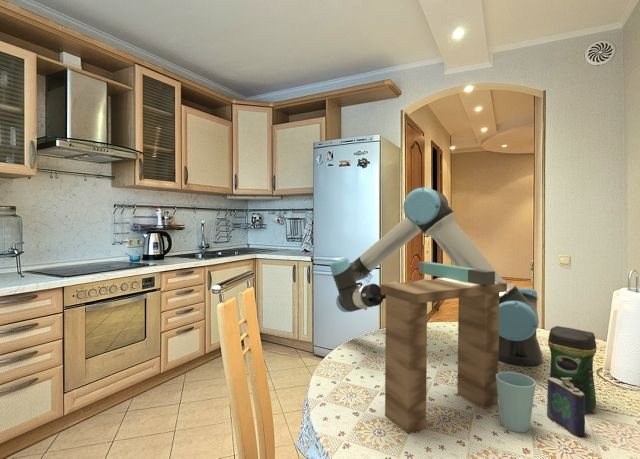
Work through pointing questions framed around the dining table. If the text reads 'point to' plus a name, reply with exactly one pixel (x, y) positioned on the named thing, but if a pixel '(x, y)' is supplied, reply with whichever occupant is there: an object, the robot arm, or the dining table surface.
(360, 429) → the dining table surface
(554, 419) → the flask
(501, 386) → the cup
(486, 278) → the teal bar
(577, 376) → the coffee jar
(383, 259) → the robot arm
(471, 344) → the shelf
